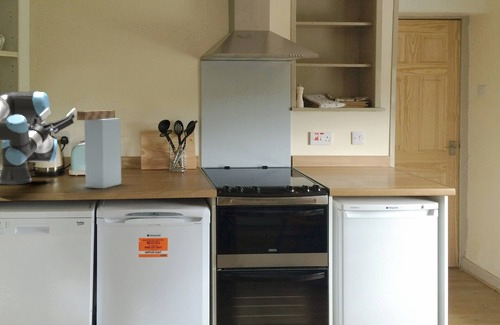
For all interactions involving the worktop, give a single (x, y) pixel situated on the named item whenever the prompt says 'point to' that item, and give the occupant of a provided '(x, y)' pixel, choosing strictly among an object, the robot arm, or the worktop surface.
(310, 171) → the worktop surface
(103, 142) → the stand
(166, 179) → the worktop surface
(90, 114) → the rod
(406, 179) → the worktop surface
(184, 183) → the worktop surface
